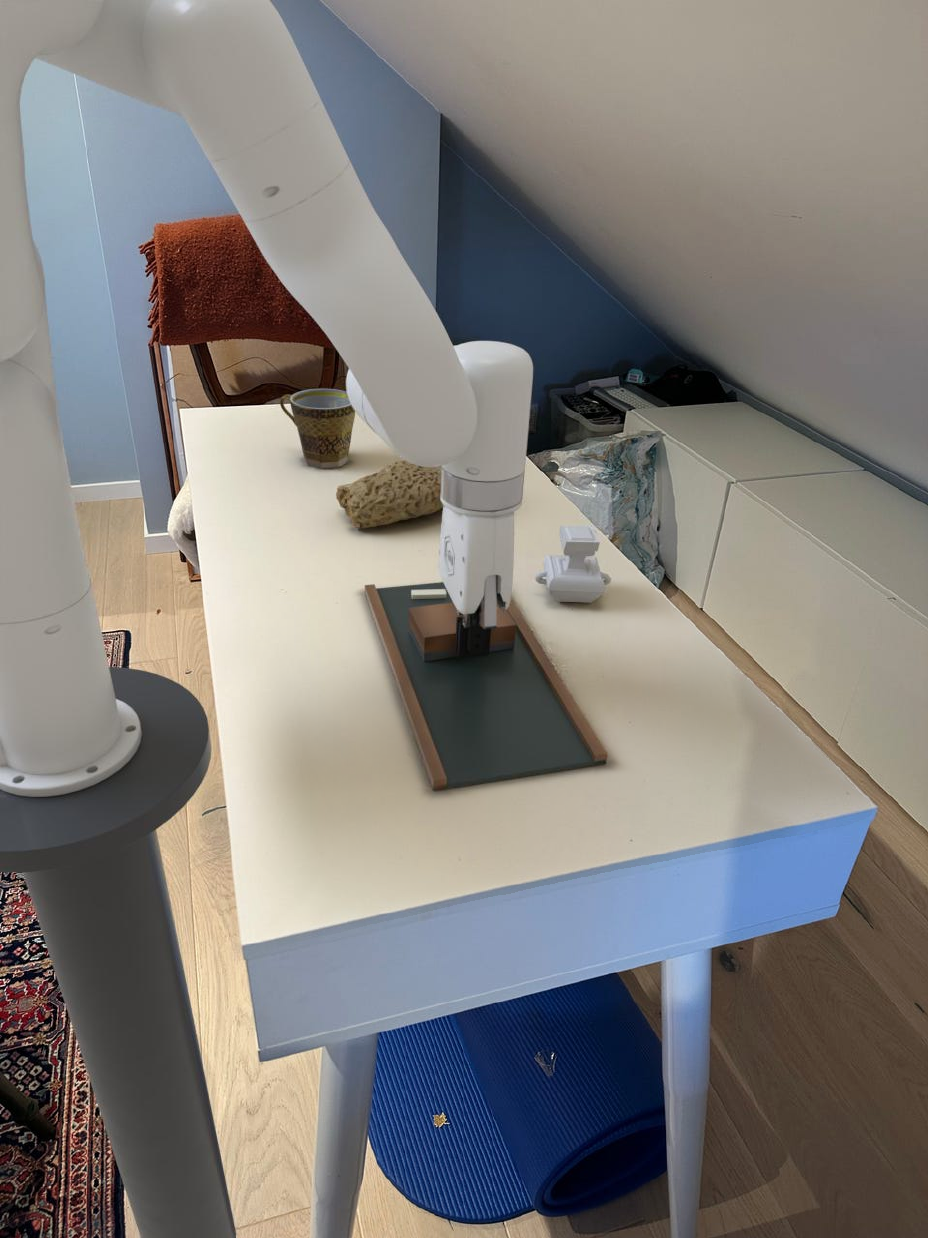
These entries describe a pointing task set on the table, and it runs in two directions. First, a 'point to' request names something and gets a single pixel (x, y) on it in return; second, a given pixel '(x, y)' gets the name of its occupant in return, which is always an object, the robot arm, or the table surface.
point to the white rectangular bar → (428, 594)
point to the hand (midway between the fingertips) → (472, 652)
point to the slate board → (482, 702)
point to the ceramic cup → (322, 425)
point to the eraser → (452, 631)
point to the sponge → (392, 495)
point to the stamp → (575, 567)
